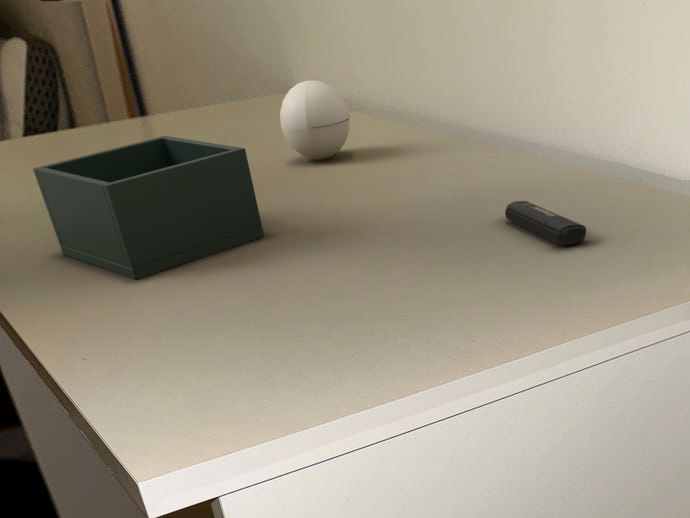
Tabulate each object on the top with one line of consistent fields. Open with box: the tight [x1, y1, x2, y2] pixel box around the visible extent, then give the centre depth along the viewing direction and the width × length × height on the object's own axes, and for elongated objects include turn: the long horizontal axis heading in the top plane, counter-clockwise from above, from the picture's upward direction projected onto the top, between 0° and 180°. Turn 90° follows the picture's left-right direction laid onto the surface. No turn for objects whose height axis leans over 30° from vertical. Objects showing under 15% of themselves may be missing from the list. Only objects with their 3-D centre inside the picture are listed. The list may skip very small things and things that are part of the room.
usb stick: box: [504, 200, 587, 247], centre depth 73 cm, size 10×3×2 cm, turn 26°
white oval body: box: [279, 80, 366, 160], centre depth 99 cm, size 10×7×7 cm
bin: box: [32, 135, 265, 280], centre depth 77 cm, size 12×12×7 cm
